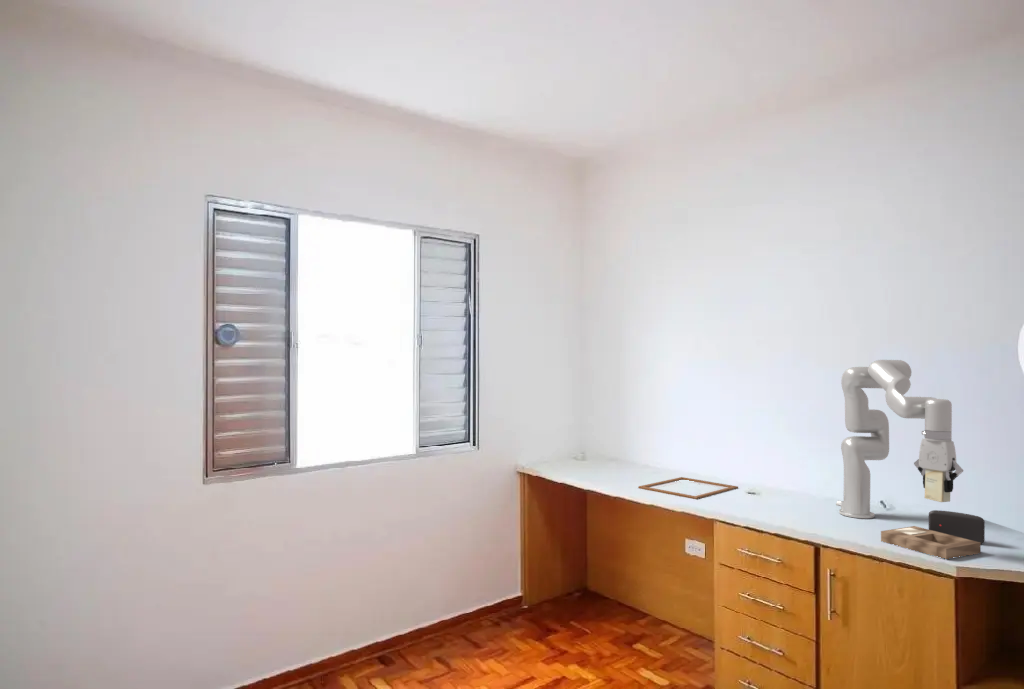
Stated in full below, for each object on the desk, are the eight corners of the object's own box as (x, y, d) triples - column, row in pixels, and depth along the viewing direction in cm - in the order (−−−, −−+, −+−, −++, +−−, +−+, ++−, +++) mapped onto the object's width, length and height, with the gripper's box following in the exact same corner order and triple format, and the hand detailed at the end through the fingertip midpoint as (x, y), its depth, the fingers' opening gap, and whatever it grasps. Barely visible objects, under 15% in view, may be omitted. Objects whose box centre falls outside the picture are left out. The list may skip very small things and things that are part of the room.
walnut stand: (880, 541, 226) (881, 530, 226) (914, 535, 234) (914, 525, 234) (946, 559, 206) (946, 547, 206) (980, 553, 214) (980, 541, 214)
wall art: (638, 486, 310) (681, 476, 336) (638, 489, 310) (681, 479, 336) (696, 497, 288) (738, 486, 314) (696, 500, 288) (738, 489, 314)
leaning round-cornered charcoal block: (985, 543, 226) (985, 515, 226) (984, 546, 223) (984, 518, 223) (930, 534, 237) (930, 508, 237) (928, 536, 233) (928, 510, 233)
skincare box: (924, 498, 220) (924, 462, 220) (933, 497, 222) (933, 461, 222) (942, 502, 214) (942, 465, 215) (951, 501, 216) (951, 464, 216)
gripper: (905, 433, 225) (905, 485, 224) (958, 439, 209) (957, 496, 209) (919, 432, 228) (919, 484, 228) (972, 438, 212) (972, 494, 212)
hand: (937, 489), depth 218 cm, fingers closed on skincare box, 6 cm apart
